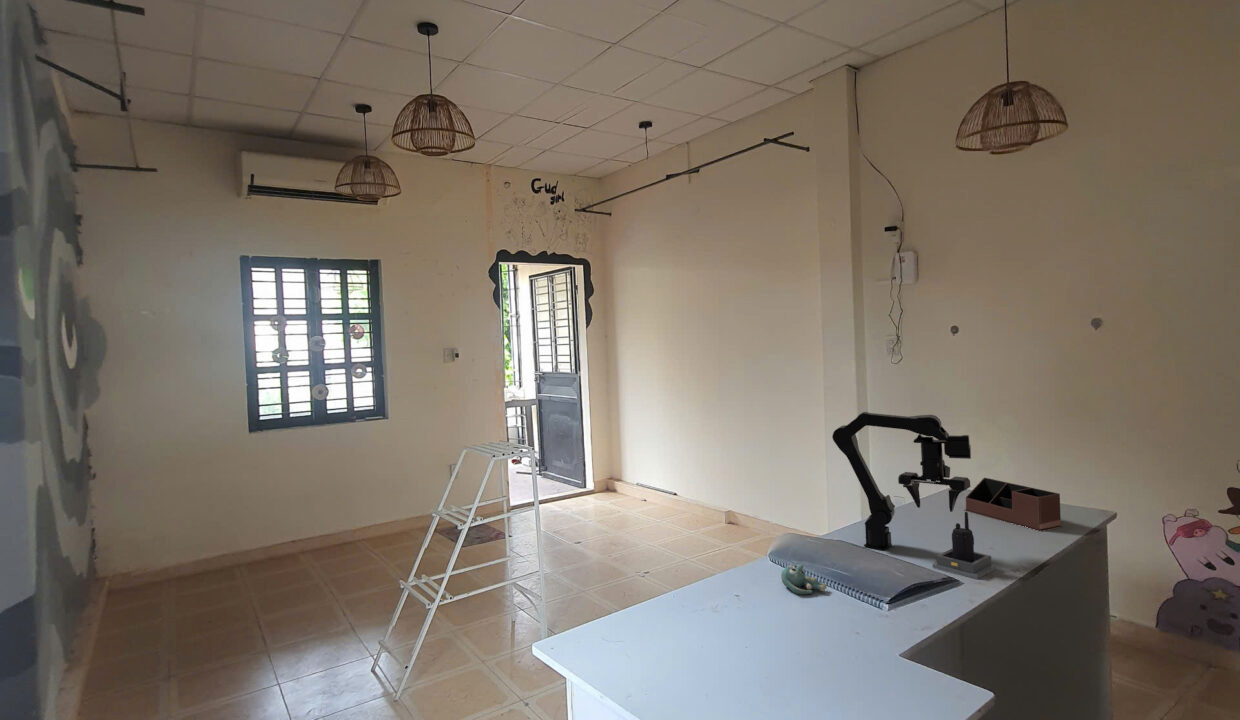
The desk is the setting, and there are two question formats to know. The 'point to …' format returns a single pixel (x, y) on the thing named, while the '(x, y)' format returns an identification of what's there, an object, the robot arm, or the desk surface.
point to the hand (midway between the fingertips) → (934, 509)
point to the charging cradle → (965, 564)
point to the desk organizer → (1015, 504)
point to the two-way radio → (963, 542)
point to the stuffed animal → (800, 580)
